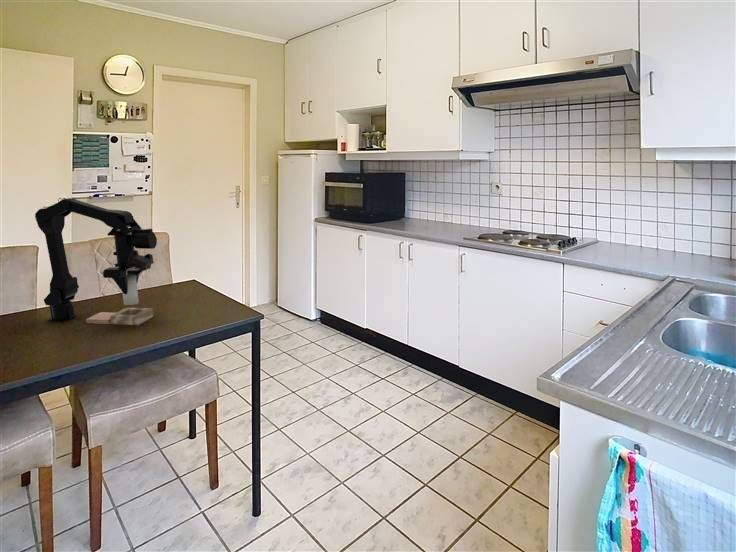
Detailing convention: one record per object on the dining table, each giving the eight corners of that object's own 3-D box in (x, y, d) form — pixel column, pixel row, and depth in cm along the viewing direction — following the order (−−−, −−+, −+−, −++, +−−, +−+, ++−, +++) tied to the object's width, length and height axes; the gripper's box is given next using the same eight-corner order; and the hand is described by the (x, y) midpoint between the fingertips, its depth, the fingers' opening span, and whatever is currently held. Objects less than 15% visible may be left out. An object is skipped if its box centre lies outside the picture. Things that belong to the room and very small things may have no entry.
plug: (119, 304, 169) (116, 277, 166) (128, 300, 174) (125, 273, 172) (134, 305, 168) (130, 277, 166) (142, 301, 173) (139, 274, 171)
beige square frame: (111, 324, 168) (110, 315, 167) (127, 315, 178) (126, 307, 177) (138, 325, 167) (137, 317, 167) (153, 316, 177) (152, 308, 176)
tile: (86, 323, 169) (86, 319, 169) (101, 316, 177) (100, 312, 176) (108, 324, 168) (107, 319, 168) (121, 316, 176) (121, 312, 176)
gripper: (131, 253, 157) (136, 300, 160) (161, 244, 175) (165, 286, 178) (99, 253, 158) (105, 299, 161) (131, 243, 176) (136, 285, 179)
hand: (129, 292), depth 170 cm, fingers closed on plug, 5 cm apart
